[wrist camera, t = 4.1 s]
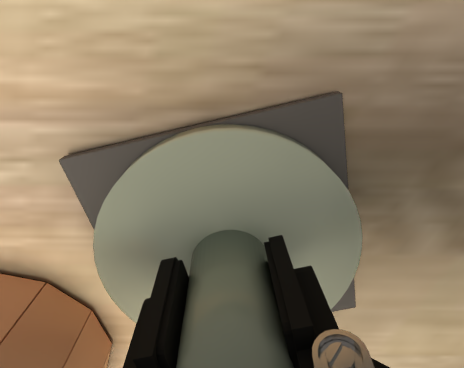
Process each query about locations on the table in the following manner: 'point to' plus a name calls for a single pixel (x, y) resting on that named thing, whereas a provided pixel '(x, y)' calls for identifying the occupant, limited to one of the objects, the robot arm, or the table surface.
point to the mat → (274, 118)
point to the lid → (226, 236)
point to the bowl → (47, 328)
